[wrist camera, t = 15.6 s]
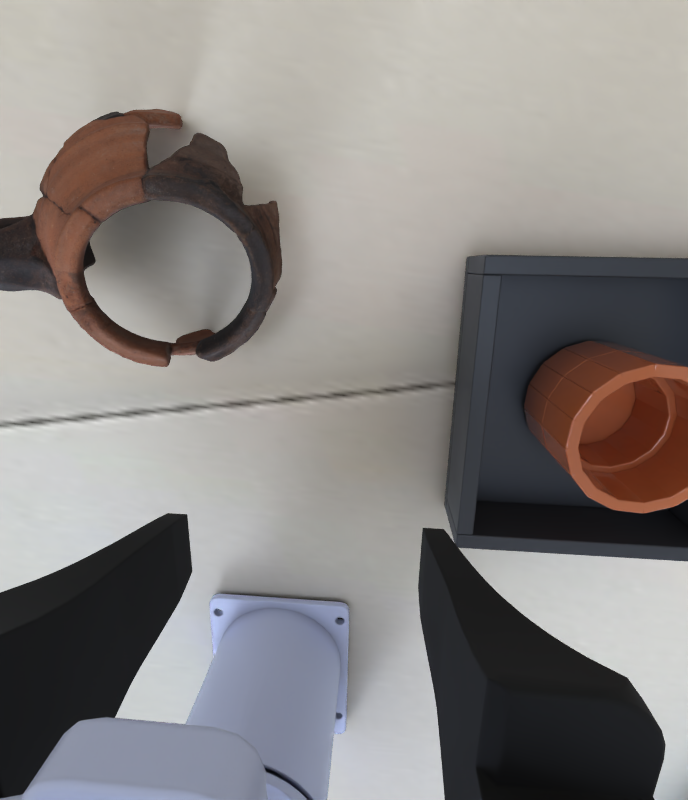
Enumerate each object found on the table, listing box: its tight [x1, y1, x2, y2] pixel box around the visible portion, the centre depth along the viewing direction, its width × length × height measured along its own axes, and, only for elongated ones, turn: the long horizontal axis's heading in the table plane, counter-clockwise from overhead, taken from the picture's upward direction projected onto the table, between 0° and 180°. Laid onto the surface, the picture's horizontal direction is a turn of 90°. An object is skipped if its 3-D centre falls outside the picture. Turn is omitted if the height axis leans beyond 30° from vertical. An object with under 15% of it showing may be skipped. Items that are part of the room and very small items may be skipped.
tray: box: [444, 255, 688, 561], centre depth 20 cm, size 12×11×4 cm
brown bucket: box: [524, 341, 688, 513], centre depth 19 cm, size 6×6×6 cm
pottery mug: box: [0, 109, 282, 367], centre depth 19 cm, size 12×10×8 cm
